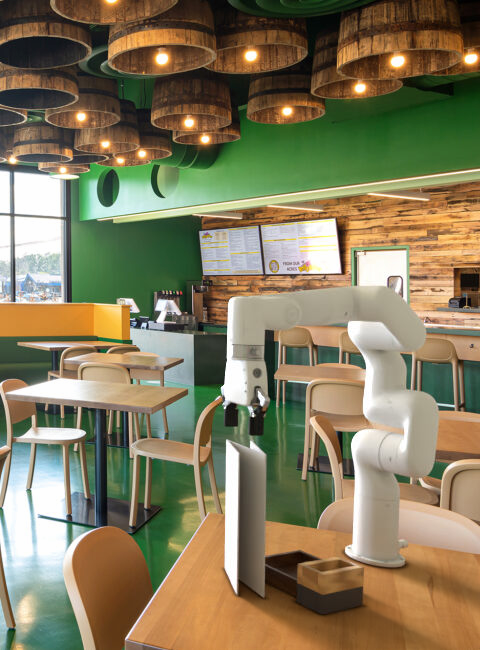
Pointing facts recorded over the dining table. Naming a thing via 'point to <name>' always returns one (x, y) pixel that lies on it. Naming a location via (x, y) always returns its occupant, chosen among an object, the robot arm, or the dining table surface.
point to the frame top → (330, 575)
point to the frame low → (329, 599)
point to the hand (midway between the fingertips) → (242, 430)
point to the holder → (285, 569)
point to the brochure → (245, 516)
